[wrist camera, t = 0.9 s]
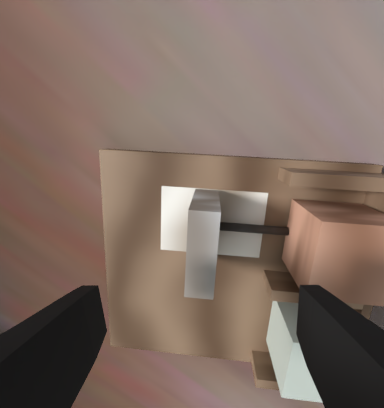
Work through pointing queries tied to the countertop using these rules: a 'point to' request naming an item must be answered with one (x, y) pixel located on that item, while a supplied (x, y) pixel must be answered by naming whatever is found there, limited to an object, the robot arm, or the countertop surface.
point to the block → (289, 354)
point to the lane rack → (227, 247)
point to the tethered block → (298, 247)
